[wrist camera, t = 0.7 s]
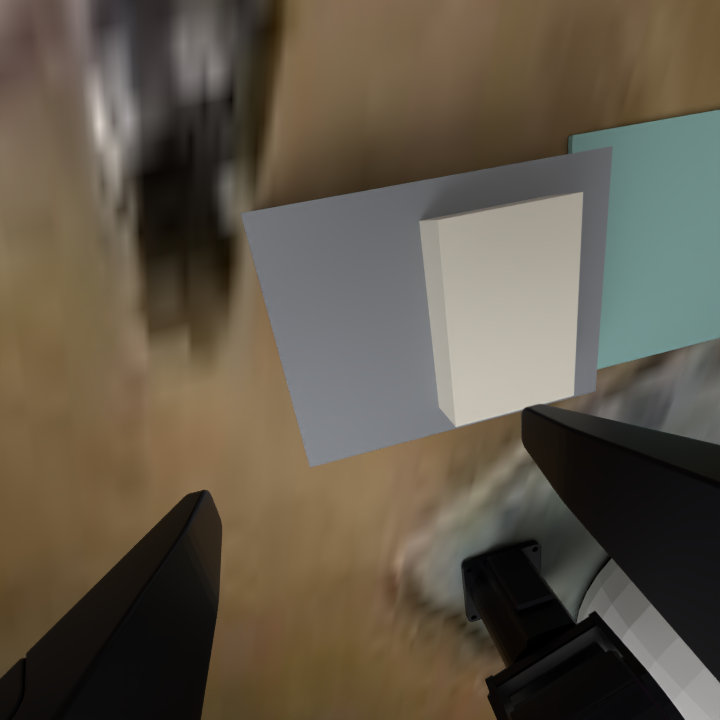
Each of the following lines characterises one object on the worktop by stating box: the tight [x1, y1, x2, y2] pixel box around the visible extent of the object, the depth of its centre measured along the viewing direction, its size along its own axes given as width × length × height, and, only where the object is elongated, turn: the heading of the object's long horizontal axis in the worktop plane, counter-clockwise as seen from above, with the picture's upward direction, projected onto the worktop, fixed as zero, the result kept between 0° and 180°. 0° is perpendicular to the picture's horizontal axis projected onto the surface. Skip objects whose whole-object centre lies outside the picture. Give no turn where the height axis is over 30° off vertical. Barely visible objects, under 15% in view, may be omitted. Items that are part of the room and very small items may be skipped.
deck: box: [241, 146, 613, 467], centre depth 19 cm, size 12×16×4 cm
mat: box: [568, 110, 720, 369], centre depth 23 cm, size 14×15×1 cm
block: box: [419, 192, 583, 427], centre depth 17 cm, size 9×6×2 cm, turn 10°
